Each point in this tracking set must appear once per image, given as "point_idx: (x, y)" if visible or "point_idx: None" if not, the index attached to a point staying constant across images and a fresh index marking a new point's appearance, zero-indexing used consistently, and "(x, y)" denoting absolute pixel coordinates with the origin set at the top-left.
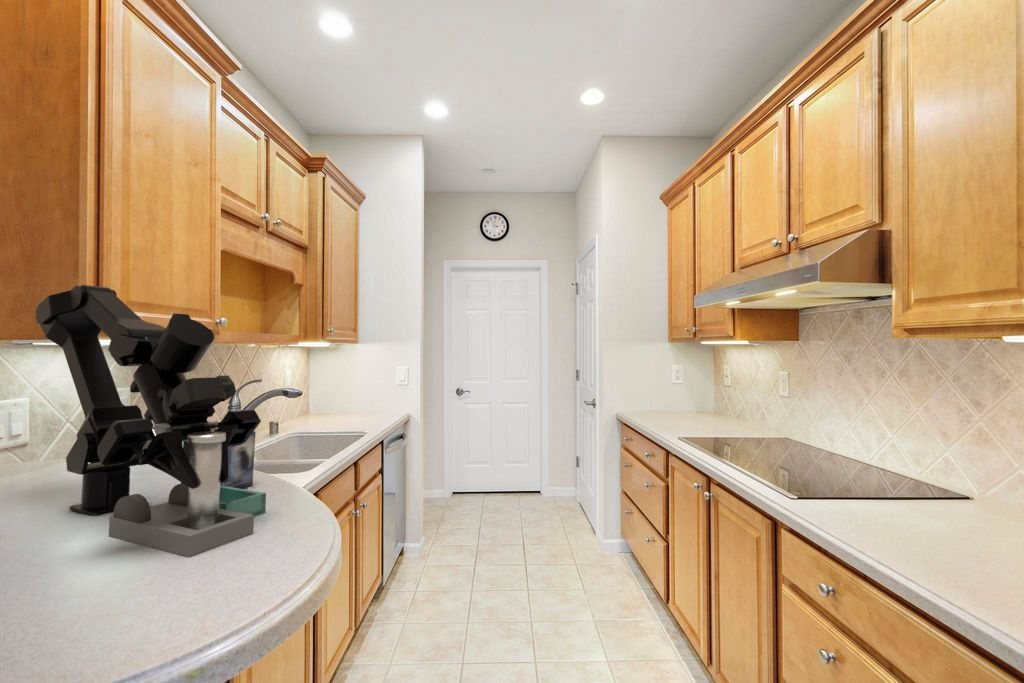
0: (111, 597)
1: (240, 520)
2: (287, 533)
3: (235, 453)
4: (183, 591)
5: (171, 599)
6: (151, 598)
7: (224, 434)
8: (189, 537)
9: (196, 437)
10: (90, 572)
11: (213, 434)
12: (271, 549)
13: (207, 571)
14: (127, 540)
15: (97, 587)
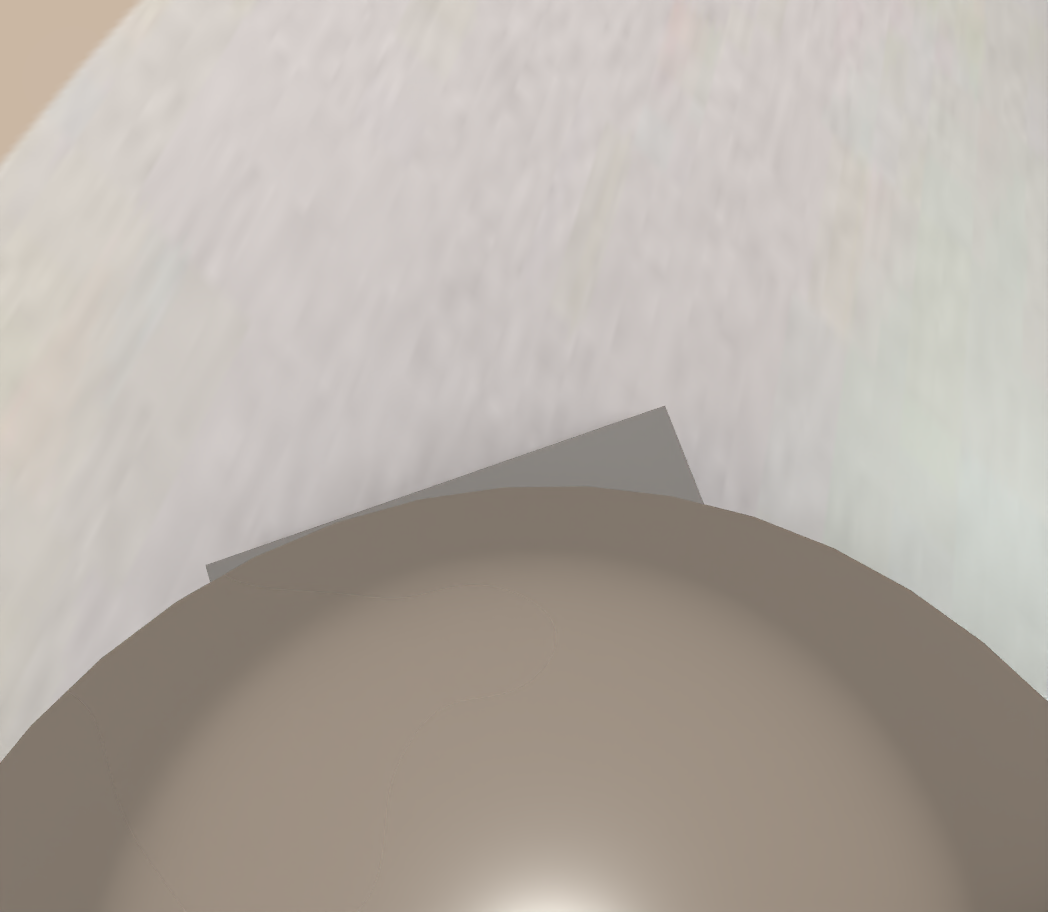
0: (977, 198)
1: (319, 526)
2: (108, 420)
3: None
4: (749, 60)
5: (799, 22)
6: (856, 82)
7: (46, 722)
8: (663, 414)
9: (1025, 697)
10: (1040, 563)
11: (418, 831)
12: (294, 244)
13: (622, 191)
14: None
15: (1018, 345)
